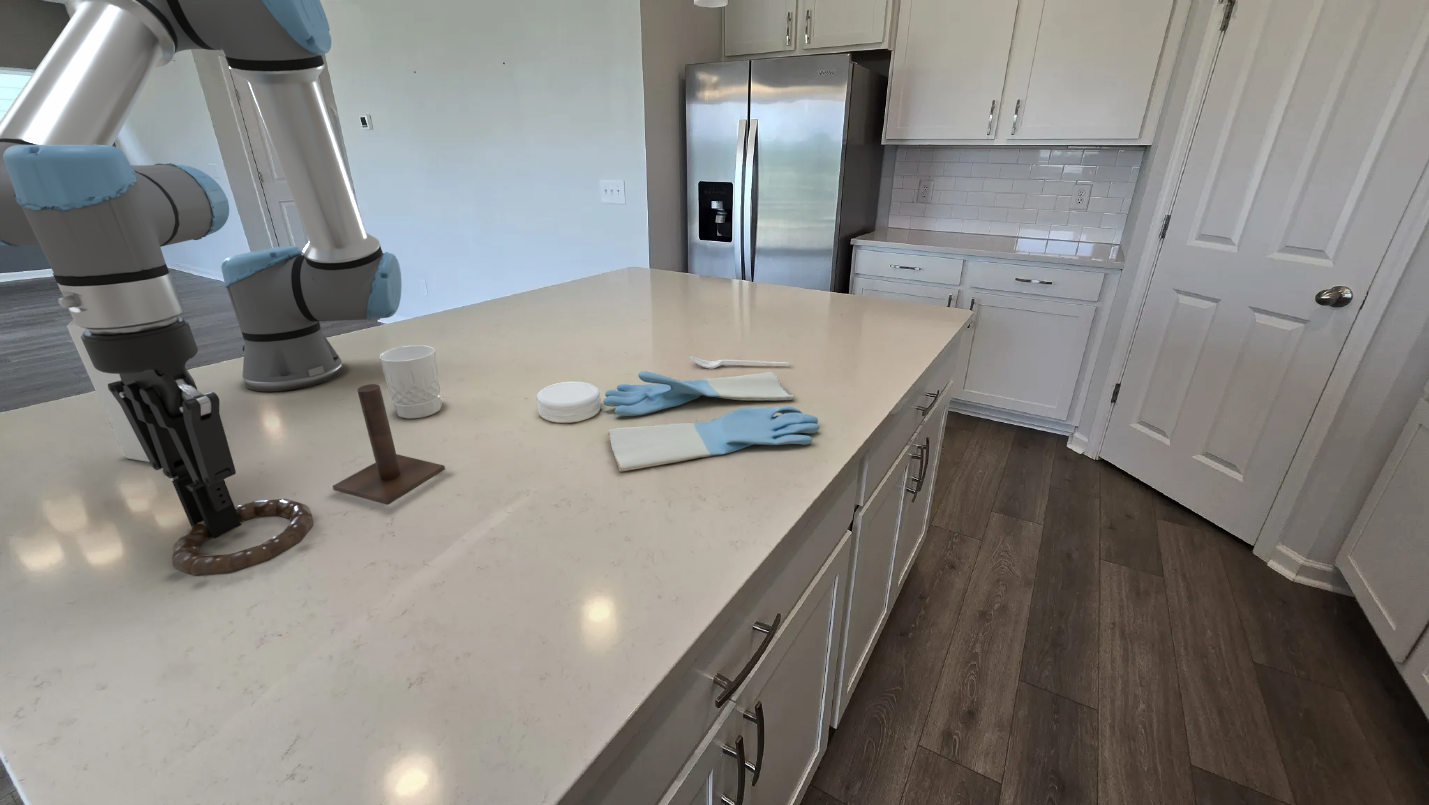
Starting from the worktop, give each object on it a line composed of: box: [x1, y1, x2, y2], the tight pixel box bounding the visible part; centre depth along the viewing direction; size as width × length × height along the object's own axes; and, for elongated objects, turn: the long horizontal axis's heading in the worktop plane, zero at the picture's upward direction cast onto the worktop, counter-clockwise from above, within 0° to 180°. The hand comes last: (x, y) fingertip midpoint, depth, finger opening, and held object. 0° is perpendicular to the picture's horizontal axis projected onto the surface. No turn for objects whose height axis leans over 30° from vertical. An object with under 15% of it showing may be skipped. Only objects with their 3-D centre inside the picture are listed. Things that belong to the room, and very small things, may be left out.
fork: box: [688, 354, 791, 370], centre depth 116 cm, size 3×20×2 cm, turn 89°
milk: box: [66, 319, 150, 463], centre depth 78 cm, size 6×6×22 cm
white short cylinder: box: [536, 380, 602, 424], centre depth 95 cm, size 10×10×4 cm
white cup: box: [378, 344, 443, 419], centre depth 94 cm, size 8×8×10 cm
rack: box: [332, 383, 446, 505], centre depth 72 cm, size 9×9×14 cm
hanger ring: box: [171, 498, 315, 577], centre depth 63 cm, size 12×12×2 cm
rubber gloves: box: [602, 370, 820, 472], centre depth 93 cm, size 27×33×6 cm
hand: (217, 528), depth 65 cm, fingers closed on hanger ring, 2 cm apart
